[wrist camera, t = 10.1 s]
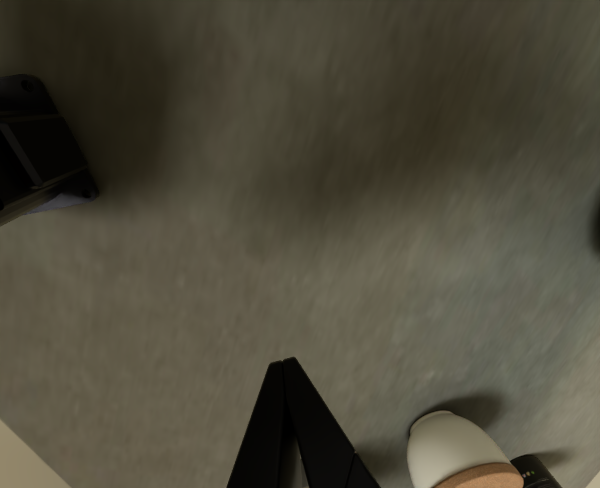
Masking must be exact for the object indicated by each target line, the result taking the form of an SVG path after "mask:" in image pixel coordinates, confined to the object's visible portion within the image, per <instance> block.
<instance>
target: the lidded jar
mask: <svg viewBox="0 0 600 488" xmlns="http://www.w3.org/2000/svg"><path fill="white" fill-rule="evenodd" d="M407 463H408V468H409V472H410V476H411V479H412V483H413V486H414V488H522V487H523V484H524V483H523V478H522V476H521V475H520V473H519V472H518V470H517V469H516V468H515V467H514V466H513V465H512V464H511V463H510V461H509V460H508V459H507V457H506V456H505V454H504V453H503V452H502V450H501V449H500V448H499V447H498V445H497V444H496V443H495V442H494V441H493V440H492V439H491V437H489V436H488V435H487V434H486V433H485V432H484V431H483V430H482V429H481V428H480V427H478V426H477V425H476V424H475V423H473V422H471V421H470V420H468V419H465V418H463V417H461V416H457V415H454V413H452V412H450V411H445V410H441V411H435V412H432V413H429V414H427V415H425V416H423V417H421V418H420V419H418V420H417V421H416V422H415V423H414V424H413V425H412V427H411V429H410V438H409V441H408V445H407Z"/></svg>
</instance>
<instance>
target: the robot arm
mask: <svg viewBox="0 0 600 488" xmlns="http://www.w3.org/2000/svg"><path fill="white" fill-rule="evenodd" d="M28 81H29V82H31V83H32V85H33V87H34V89H33V91H31V90H29V88H28V87H27V82H28ZM86 166H87V162H86V160H85V158H84V156H83V154H82V152H81V150H80V148H79V146H78V144H77V143H76V141H75V139H74V137H73V135H72V133H71V131H70V129H69V127H68V125H67V123H66V121H65V119H64V118H63V117H61V116H60V115H59V114H58V112H57V110H56V108H55V106H54V104H53V102H52V100H51V98H50V96H49V95H48V93H47V91H46V89H45V87H44V85H43V83H42V82H41V81H40V80H39V79H38V78H37V77H35V76H32V75H27V74H19V75H13V76H7V77H1V78H0V226H2V225H4V224H6V223H8V222H10V221H12V220H14V219H16V218H18V217H19V216H21V215H26V214H31V213H36V212H42V211H47V210H52V209H57V208H62V207H67V206H72V205H77V204H82V203H87V202H91V201H94V200H95V199H97V198H98V196H99V191H98V189H97V187H96V185H95V183H94V181H93V179H92V177H91V175H90V173H89V171H88V169H87V168H86ZM85 190H88V191H90V193H91V196H89V195H87V194H86V193H85ZM300 455H301V458H302V462H303V466H304V470H305V474H306V478H307V481H308V485H309V488H381V487H380V486H379V484H378V483H377V481H376V480H375V478H374V477H373V476H372V474H371V473H370V471H369V470H368V468H367V467H366V465H365V464H364V462H363V461H362V459H361V458H360V456H359V454H358V453H356V450H355V449H354V447H353V445H352V444H351V442H350V441H349V439H348V438H347V436H346V435H345V433H344V432H343V430H342V428H341V427H340V425H339V424H338V422H337V421H336V419H335V418H334V416H333V415H332V413H331V411H330V410H329V408H328V407H327V405H326V404H325V402H324V401H323V399H322V398H321V396H320V394H319V393H318V391H317V390H316V388H315V387H314V385H313V384H312V382H311V381H310V379H309V377H308V376H307V374H306V373H305V371H304V370H303V368H302V367H301V365H300V364H299V362H298V360H297V359H296V358H295V357H291V358H287V359H284V360H283V361H281V360H280V361H276V362H272V363H270V364H269V366H268V369H267V372H266V375H265V378H264V380H263V383H262V386H261V389H260V392H259V395H258V398H257V401H256V403H255V406H254V409H253V412H252V415H251V418H250V421H249V424H248V427H247V429H246V432H245V435H244V438H243V441H242V444H241V447H240V450H239V452H238V455H237V458H236V461H235V464H234V467H233V470H232V473H231V476H230V478H229V481H228V484H227V487H226V488H302V475H301V461H300Z"/></svg>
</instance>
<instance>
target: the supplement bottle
mask: <svg viewBox="0 0 600 488" xmlns="http://www.w3.org/2000/svg"><path fill="white" fill-rule="evenodd" d="M510 463H511V464H512V465H513V466H514V467H515V468H516V469H517V470H518V472H519V473H520V475H521V476H522V478H523V483H524V484H523V487H522V488H562V487H561V486H560V484H559V483H558V482H557V481H556V479H555V478H554V477H553V476H552V475H551V473H550V472H549V471H548V470H547V468H546V467H545V466H544V465H543V464H542V462H541V461H540V460H539V459H538V458H536V457H535V456H532V455H526V456H521V457H518V458H516V459H514V460H512V461H510Z"/></svg>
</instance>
